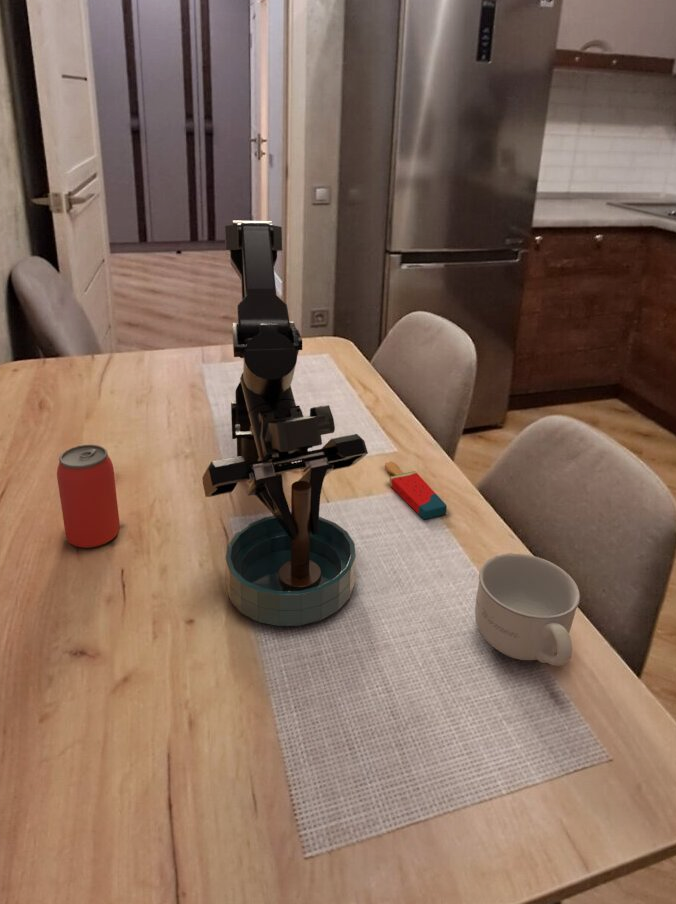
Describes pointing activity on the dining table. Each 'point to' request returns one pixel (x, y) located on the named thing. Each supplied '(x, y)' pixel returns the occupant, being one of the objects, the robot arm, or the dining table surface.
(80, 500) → the beer can
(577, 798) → the dining table surface
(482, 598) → the teacup
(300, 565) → the wooden peg stand
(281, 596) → the bowl
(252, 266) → the robot arm
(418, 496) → the popsicle
